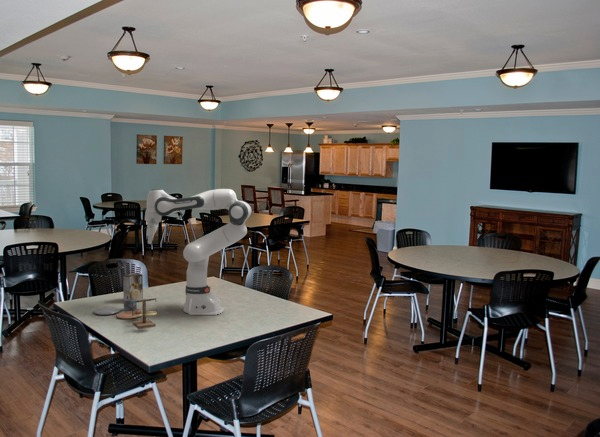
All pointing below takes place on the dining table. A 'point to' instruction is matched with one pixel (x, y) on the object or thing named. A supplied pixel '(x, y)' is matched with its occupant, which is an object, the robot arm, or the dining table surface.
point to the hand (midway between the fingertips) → (150, 242)
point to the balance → (144, 322)
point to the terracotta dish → (126, 315)
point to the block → (130, 305)
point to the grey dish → (106, 310)
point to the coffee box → (133, 286)
